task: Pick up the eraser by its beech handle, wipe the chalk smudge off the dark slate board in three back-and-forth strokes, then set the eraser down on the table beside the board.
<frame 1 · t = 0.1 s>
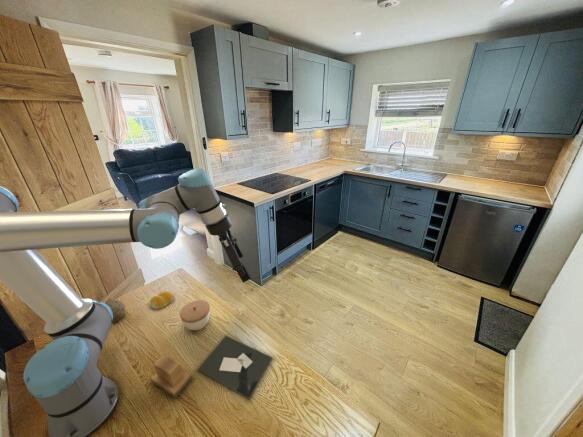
hand: (243, 268, 83), 28 cm above the table, tool tilted 20°, fingers open, 13 cm apart
bread roll: (162, 302, 105), on the table
trinket box: (198, 324, 95), on the table
eraser: (172, 381, 75), on the table
slate board: (236, 364, 80), on the table
decorative egg: (117, 318, 97), on the table
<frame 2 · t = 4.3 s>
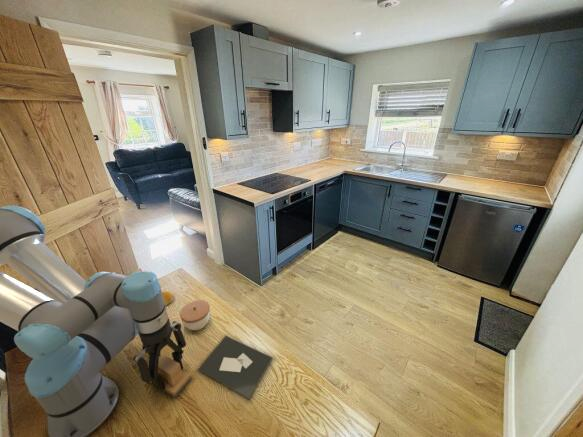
hand: (170, 376, 74), 2 cm above the table, tool pointing down, fingers closed on eraser, 6 cm apart
eraser: (172, 381, 75), on the table, touching gripper
everything else where it was.
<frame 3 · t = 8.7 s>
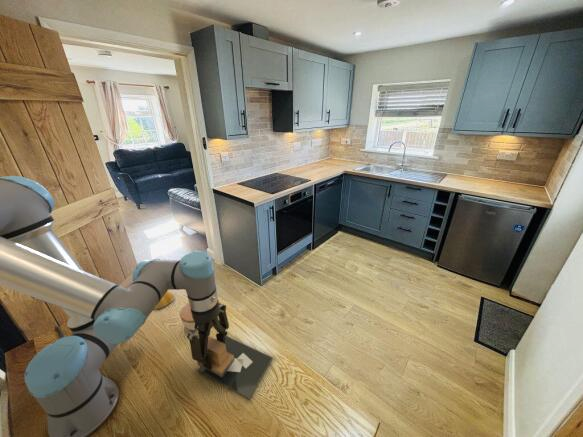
hand: (215, 357, 76), 6 cm above the table, tool pointing down, fingers closed on eraser, 6 cm apart
eraser: (216, 362, 77), point 4 cm above the table, touching gripper
everything else where it was.
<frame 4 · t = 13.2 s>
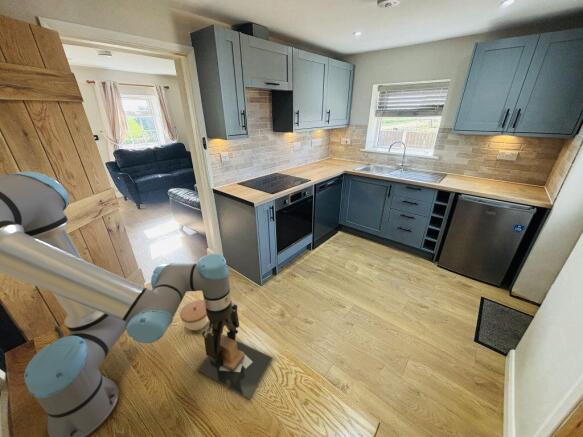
hand: (226, 354, 80), 3 cm above the table, tool pointing down, fingers closed on eraser, 6 cm apart
eraser: (227, 358, 81), point 1 cm above the table, touching gripper
everything else where it was.
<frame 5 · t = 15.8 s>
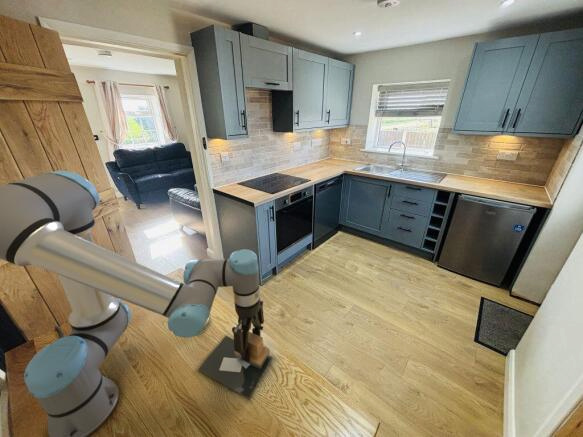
hand: (251, 351, 80), 4 cm above the table, tool pointing down, fingers closed on eraser, 6 cm apart
eraser: (252, 355, 81), point 2 cm above the table, touching gripper
everything else where it was.
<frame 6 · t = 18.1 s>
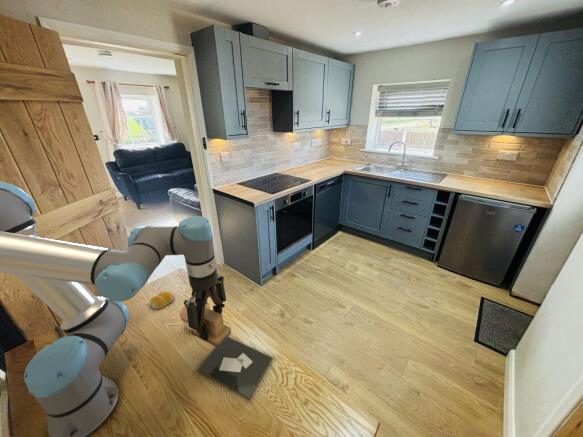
hand: (211, 329, 75), 14 cm above the table, tool pointing down, fingers closed on eraser, 6 cm apart
eraser: (212, 334, 76), point 12 cm above the table, touching gripper
everything else where it was.
when the fingers open (2 cm above the table, at t = 22.3 s): eraser stays where it is, on the table.
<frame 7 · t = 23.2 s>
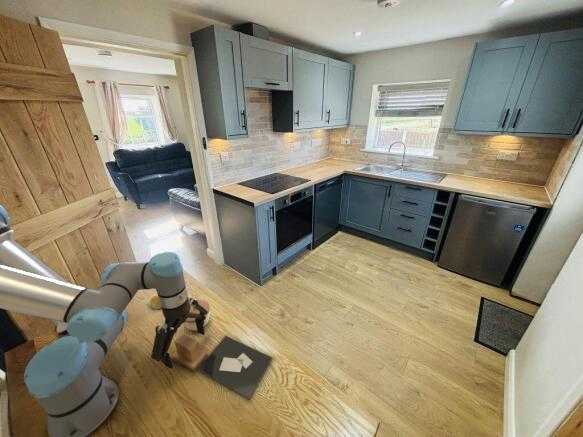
hand: (186, 348, 79), 5 cm above the table, tool pointing down, fingers open, 13 cm apart
eraser: (190, 358, 82), on the table
everything else where it was.
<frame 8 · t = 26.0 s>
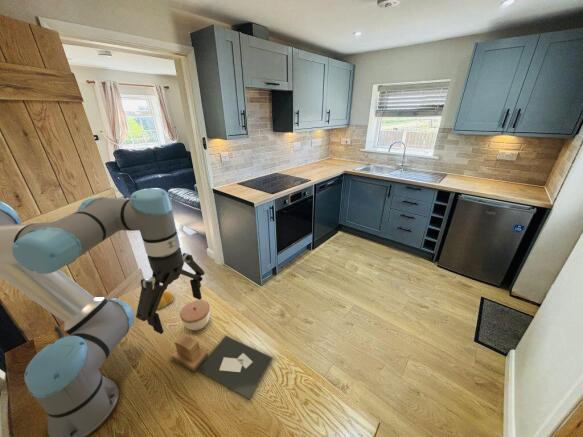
hand: (179, 313, 68), 25 cm above the table, tool pointing down, fingers open, 13 cm apart
nothing on the table moved.
at the end: eraser 0.3 cm from the target spot, on the table; eraser tilted 0°; the gripper is holding nothing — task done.
